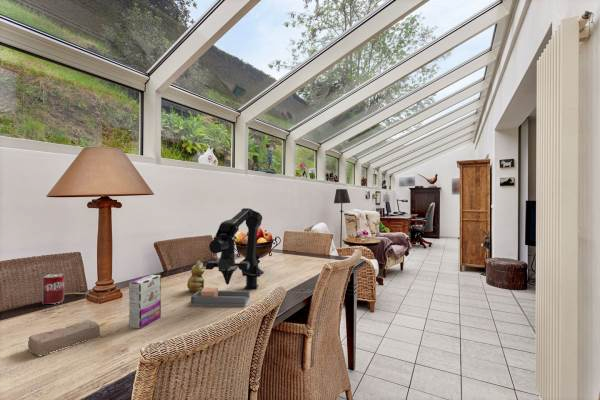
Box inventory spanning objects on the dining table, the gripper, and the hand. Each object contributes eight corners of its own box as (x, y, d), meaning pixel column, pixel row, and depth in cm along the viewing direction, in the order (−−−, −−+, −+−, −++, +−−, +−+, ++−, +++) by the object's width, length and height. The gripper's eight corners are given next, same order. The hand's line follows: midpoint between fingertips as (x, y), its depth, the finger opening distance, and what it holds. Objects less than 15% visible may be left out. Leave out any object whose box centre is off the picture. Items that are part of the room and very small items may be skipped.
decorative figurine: (204, 292, 142) (205, 262, 142) (186, 294, 140) (187, 263, 140) (204, 287, 151) (204, 258, 152) (187, 288, 149) (187, 259, 149)
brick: (89, 330, 101) (89, 317, 101) (101, 336, 97) (101, 322, 97) (26, 351, 87) (26, 336, 87) (37, 359, 82) (37, 343, 82)
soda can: (67, 301, 129) (67, 274, 129) (47, 306, 122) (48, 278, 122) (58, 298, 132) (58, 272, 132) (38, 303, 125) (39, 276, 125)
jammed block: (205, 296, 134) (205, 287, 134) (218, 296, 133) (218, 287, 134) (200, 300, 128) (200, 291, 128) (214, 300, 127) (214, 291, 128)
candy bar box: (150, 315, 114) (150, 274, 114) (161, 317, 113) (161, 275, 113) (127, 328, 103) (128, 281, 103) (139, 329, 102) (140, 282, 102)
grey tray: (199, 296, 137) (199, 289, 137) (249, 297, 136) (249, 290, 136) (189, 305, 125) (189, 297, 125) (244, 306, 124) (245, 298, 124)
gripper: (201, 252, 122) (200, 289, 122) (245, 253, 122) (244, 290, 122) (209, 248, 134) (209, 282, 133) (249, 249, 133) (249, 282, 133)
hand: (227, 284), depth 130 cm, fingers closed
